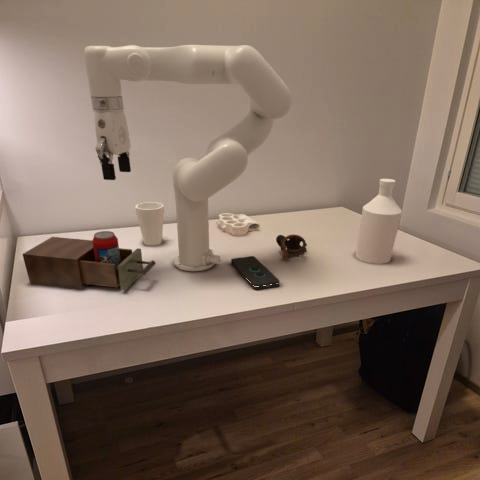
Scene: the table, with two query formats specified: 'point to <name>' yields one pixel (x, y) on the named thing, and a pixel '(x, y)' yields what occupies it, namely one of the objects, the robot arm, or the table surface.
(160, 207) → the foam cup
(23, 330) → the table surface
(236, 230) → the white multi well tray
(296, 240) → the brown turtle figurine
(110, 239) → the beverage can
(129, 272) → the drawer
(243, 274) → the black flat slab
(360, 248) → the bottle
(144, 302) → the table surface
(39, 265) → the cabinet
